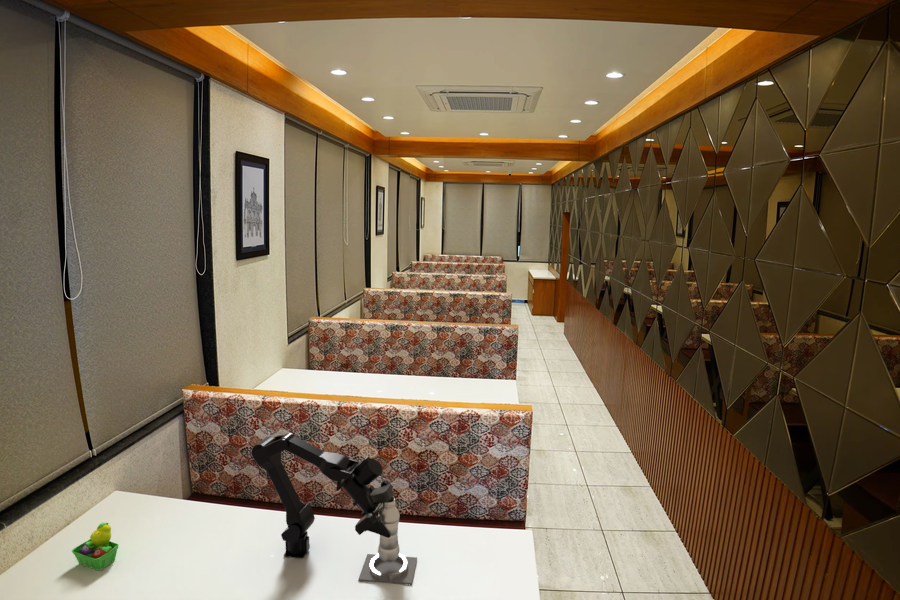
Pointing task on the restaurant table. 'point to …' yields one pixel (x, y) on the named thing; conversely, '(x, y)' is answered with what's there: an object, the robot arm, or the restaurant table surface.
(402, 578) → the ring mat
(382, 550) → the plastic bottle
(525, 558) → the restaurant table surface
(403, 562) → the split ring
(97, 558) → the fruit basket
